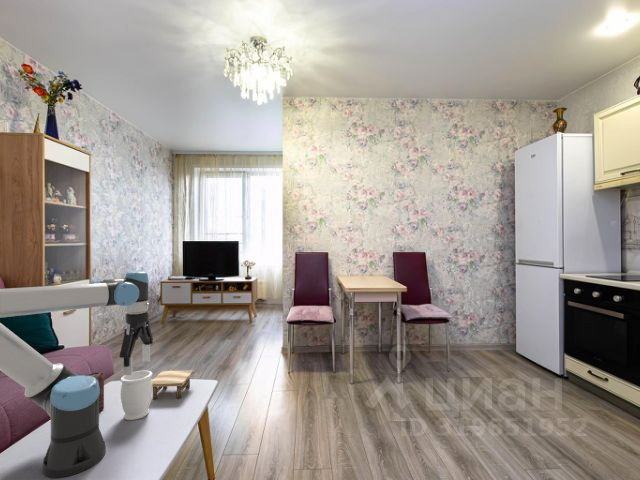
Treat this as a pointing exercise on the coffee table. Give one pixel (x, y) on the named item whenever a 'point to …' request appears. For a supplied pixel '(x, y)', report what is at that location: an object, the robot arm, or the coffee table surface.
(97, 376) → the can
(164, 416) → the coffee table surface
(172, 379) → the stool
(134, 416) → the jar
